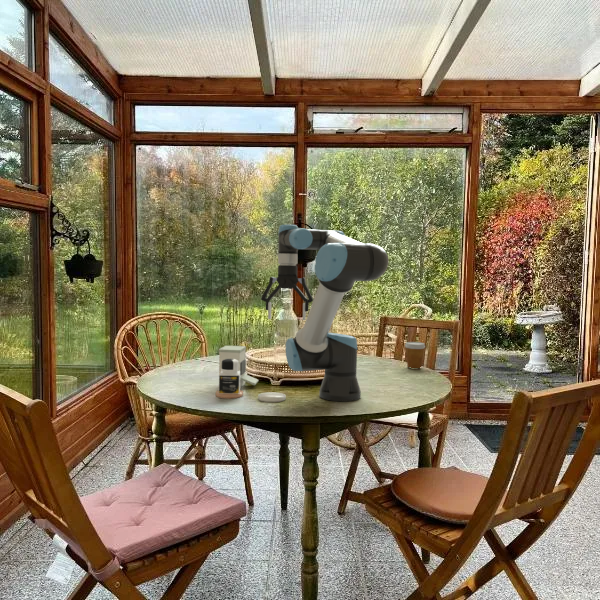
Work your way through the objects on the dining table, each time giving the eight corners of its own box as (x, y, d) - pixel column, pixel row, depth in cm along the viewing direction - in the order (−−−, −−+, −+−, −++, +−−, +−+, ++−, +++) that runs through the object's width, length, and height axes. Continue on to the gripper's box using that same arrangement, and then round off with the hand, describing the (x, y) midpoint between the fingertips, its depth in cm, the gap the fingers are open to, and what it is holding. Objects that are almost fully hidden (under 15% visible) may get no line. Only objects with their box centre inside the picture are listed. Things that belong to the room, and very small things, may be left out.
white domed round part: (287, 396, 203) (287, 392, 203) (283, 402, 193) (283, 399, 193) (260, 394, 204) (260, 391, 204) (255, 401, 195) (255, 398, 194)
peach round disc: (245, 392, 207) (246, 389, 207) (239, 399, 197) (239, 395, 197) (219, 391, 208) (219, 388, 208) (212, 397, 198) (212, 394, 198)
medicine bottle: (218, 394, 199) (219, 361, 198) (220, 389, 206) (221, 357, 205) (238, 394, 199) (239, 361, 199) (240, 389, 206) (240, 357, 206)
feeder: (259, 383, 223) (260, 346, 222) (254, 389, 213) (254, 350, 212) (225, 382, 225) (225, 345, 224) (218, 387, 214) (218, 349, 213)
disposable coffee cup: (420, 366, 270) (421, 341, 269) (427, 370, 260) (428, 344, 260) (401, 366, 268) (402, 341, 268) (407, 370, 259) (408, 344, 258)
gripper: (320, 265, 218) (319, 319, 219) (258, 264, 221) (257, 317, 222) (318, 265, 210) (317, 321, 211) (254, 264, 213) (253, 319, 215)
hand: (286, 319), depth 217 cm, fingers open, 13 cm apart
